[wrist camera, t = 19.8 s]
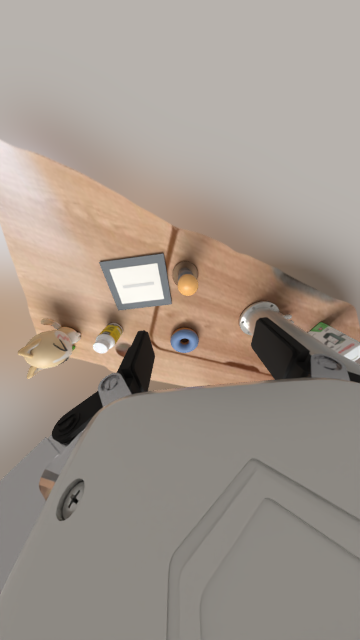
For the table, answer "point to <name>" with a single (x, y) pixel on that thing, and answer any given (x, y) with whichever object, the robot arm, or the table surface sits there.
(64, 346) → the kitten
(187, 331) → the doughnut
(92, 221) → the table surface
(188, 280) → the marker
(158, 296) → the grey picture frame
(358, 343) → the ink box
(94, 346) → the supplement bottle
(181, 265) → the coaster
